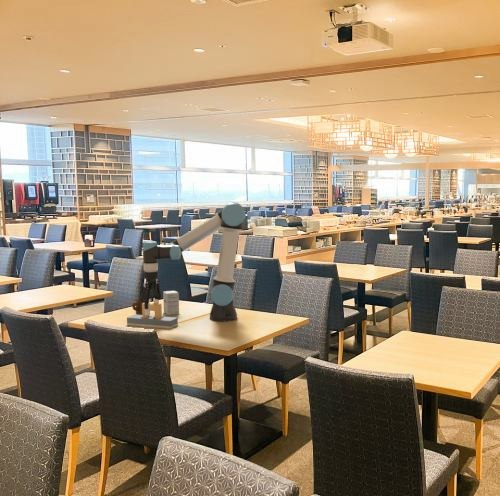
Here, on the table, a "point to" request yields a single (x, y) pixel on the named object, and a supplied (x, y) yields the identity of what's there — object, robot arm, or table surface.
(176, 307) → the supplement box
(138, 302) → the mug
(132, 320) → the rail
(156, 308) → the tall wooden block
